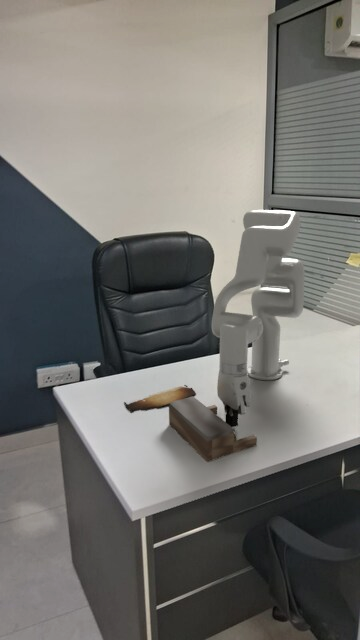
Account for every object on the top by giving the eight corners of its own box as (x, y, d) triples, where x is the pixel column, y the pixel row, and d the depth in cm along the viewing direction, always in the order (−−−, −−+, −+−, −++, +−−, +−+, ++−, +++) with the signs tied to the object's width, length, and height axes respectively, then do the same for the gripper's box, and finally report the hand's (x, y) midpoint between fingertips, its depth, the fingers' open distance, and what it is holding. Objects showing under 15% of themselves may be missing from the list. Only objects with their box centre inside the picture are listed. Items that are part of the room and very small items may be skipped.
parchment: (186, 385, 165) (186, 382, 165) (202, 395, 157) (202, 392, 157) (121, 404, 153) (120, 402, 153) (135, 417, 145) (134, 414, 145)
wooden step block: (214, 412, 146) (214, 390, 144) (256, 445, 129) (257, 421, 127) (169, 424, 139) (168, 402, 137) (207, 462, 122) (207, 437, 120)
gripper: (261, 373, 127) (258, 434, 132) (229, 354, 139) (227, 411, 145) (237, 379, 123) (235, 441, 129) (207, 359, 136) (206, 417, 141)
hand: (231, 425), depth 137 cm, fingers closed
